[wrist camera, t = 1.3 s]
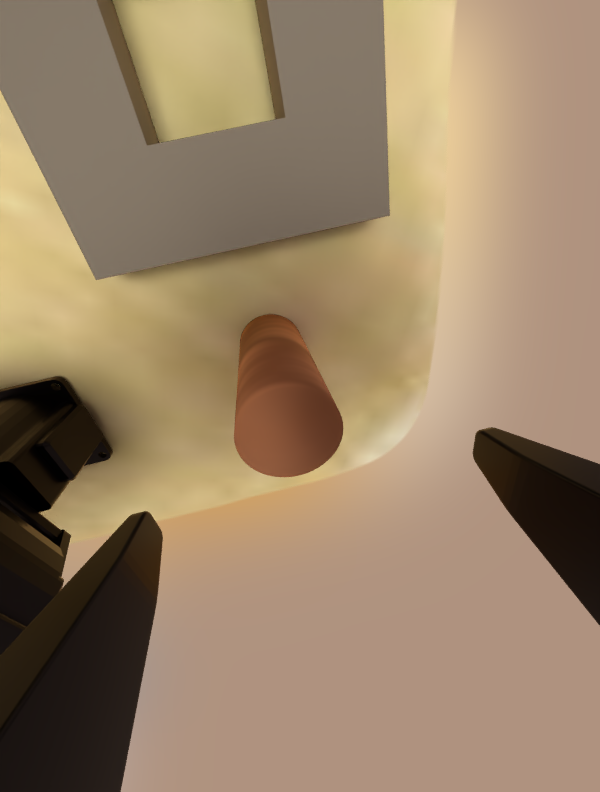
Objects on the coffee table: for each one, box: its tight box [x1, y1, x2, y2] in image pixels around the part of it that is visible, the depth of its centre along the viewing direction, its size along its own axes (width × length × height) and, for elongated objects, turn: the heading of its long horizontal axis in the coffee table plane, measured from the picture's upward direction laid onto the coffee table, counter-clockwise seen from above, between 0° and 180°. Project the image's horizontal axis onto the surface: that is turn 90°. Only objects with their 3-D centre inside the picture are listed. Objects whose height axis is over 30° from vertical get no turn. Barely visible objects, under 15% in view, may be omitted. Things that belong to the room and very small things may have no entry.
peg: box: [234, 314, 343, 477], centre depth 15 cm, size 4×4×10 cm
